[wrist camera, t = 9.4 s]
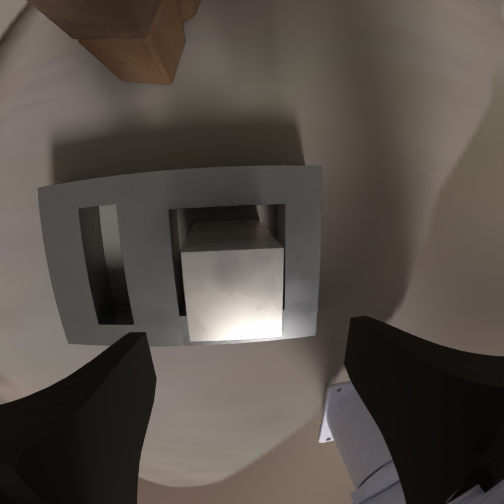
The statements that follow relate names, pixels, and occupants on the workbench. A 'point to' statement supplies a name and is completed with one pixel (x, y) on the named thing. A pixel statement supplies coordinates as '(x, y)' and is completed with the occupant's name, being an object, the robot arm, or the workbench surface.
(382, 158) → the workbench surface
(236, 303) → the block
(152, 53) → the wooden stand
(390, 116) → the workbench surface
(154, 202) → the socket plate
